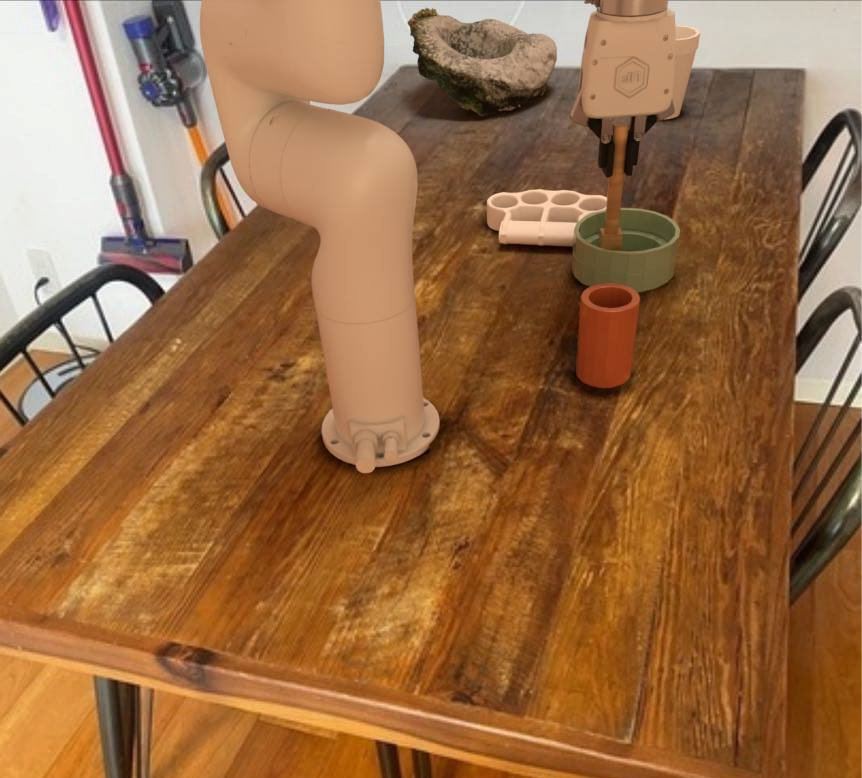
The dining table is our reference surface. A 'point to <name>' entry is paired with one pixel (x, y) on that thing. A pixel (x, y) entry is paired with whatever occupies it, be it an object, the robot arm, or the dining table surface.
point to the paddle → (615, 191)
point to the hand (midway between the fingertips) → (616, 171)
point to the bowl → (627, 250)
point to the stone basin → (482, 60)
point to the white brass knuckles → (540, 215)
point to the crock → (607, 334)
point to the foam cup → (683, 63)
